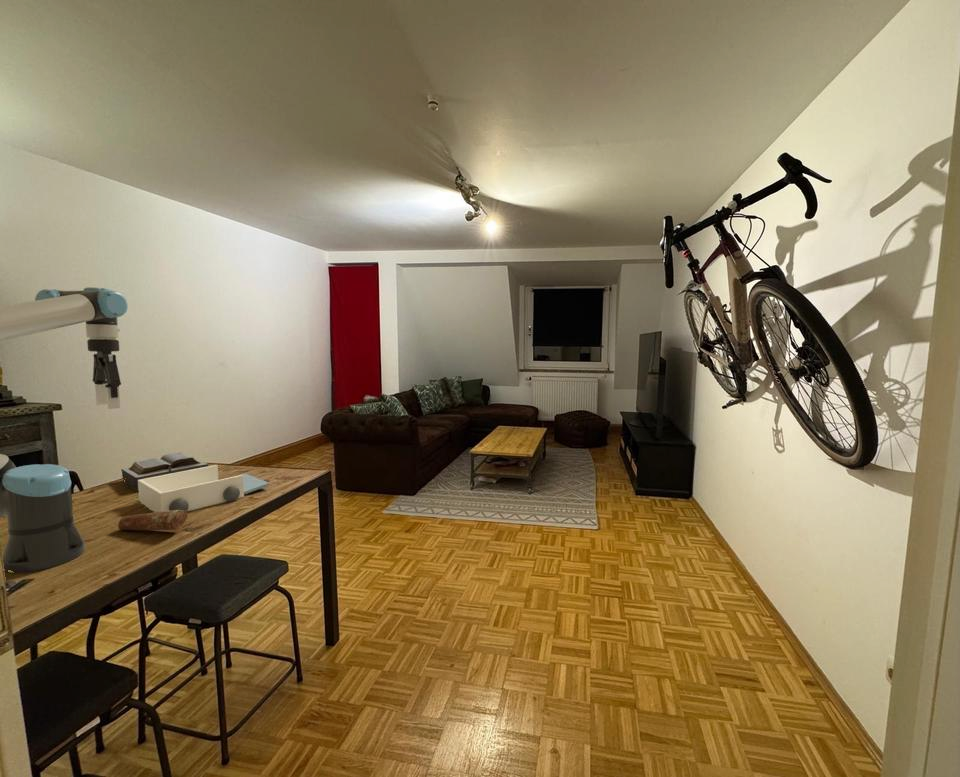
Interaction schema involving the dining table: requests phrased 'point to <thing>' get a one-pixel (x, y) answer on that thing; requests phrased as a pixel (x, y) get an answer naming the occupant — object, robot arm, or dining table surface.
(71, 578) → the dining table surface
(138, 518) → the bread
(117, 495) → the dining table surface
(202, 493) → the white toy wagon
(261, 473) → the dining table surface
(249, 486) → the tailgate
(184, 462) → the bible
